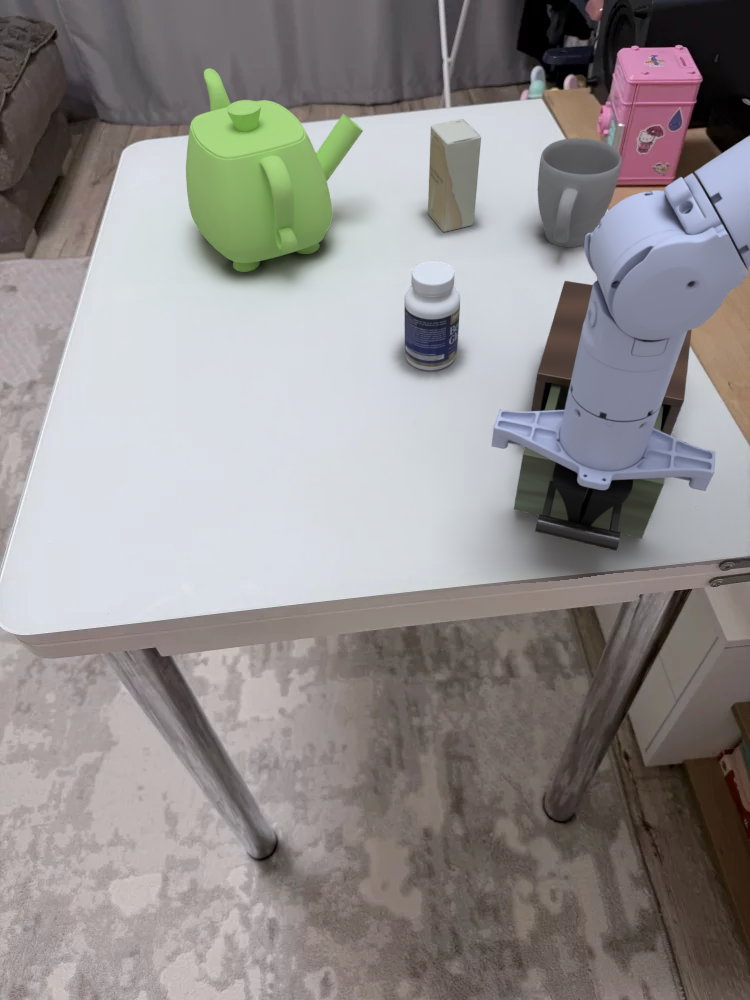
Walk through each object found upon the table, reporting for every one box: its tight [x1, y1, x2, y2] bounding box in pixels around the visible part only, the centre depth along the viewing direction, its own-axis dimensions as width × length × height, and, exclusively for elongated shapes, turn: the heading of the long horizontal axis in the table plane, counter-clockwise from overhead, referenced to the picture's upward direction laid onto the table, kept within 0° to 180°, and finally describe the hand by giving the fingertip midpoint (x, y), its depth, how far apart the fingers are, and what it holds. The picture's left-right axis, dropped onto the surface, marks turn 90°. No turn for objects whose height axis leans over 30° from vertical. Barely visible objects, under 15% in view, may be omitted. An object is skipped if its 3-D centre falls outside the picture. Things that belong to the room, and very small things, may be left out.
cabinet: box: [530, 280, 693, 436], centre depth 67 cm, size 14×12×9 cm
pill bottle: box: [403, 260, 461, 371], centre depth 72 cm, size 5×5×10 cm
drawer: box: [513, 383, 666, 552], centre depth 60 cm, size 17×10×7 cm, turn 161°
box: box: [427, 118, 482, 233], centre depth 88 cm, size 5×4×11 cm
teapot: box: [185, 67, 364, 273], centre depth 87 cm, size 25×22×16 cm
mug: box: [537, 137, 623, 248], centre depth 85 cm, size 12×9×10 cm
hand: (578, 522), depth 57 cm, fingers closed, pressing on drawer
